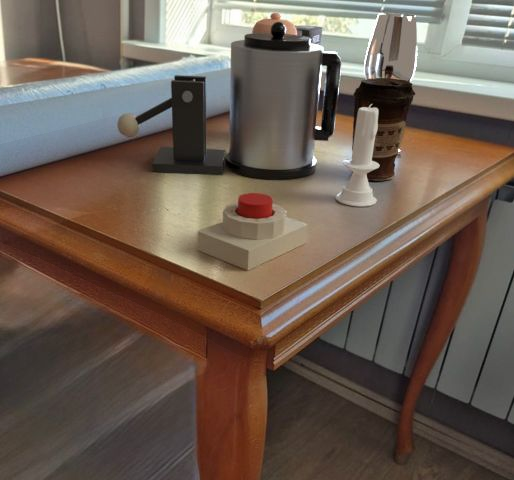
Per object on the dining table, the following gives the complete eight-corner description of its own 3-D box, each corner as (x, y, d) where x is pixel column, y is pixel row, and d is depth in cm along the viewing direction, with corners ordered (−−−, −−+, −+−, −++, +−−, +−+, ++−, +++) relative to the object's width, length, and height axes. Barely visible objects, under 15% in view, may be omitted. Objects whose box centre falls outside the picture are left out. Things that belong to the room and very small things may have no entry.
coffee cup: (410, 185, 86) (428, 87, 79) (354, 185, 85) (367, 86, 78) (389, 167, 94) (403, 75, 87) (337, 167, 92) (347, 74, 85)
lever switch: (123, 143, 87) (111, 122, 86) (127, 137, 90) (115, 117, 88) (202, 101, 84) (191, 78, 82) (204, 96, 87) (193, 74, 85)
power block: (247, 271, 61) (249, 233, 59) (197, 250, 64) (197, 214, 62) (306, 243, 67) (309, 208, 65) (258, 225, 71) (259, 192, 69)
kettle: (223, 177, 86) (225, 24, 75) (227, 151, 97) (229, 15, 87) (334, 182, 86) (352, 30, 76) (325, 155, 97) (339, 20, 87)
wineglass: (373, 142, 106) (392, 11, 95) (410, 152, 101) (434, 16, 90) (344, 149, 101) (360, 12, 90) (381, 160, 97) (403, 17, 86)
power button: (256, 223, 62) (257, 207, 61) (230, 214, 64) (230, 198, 63) (278, 214, 64) (279, 198, 63) (252, 206, 66) (253, 190, 65)
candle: (364, 192, 83) (377, 98, 76) (384, 205, 79) (399, 108, 72) (328, 195, 81) (339, 100, 75) (347, 208, 77) (360, 109, 71)
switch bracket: (152, 172, 86) (147, 82, 80) (160, 154, 94) (157, 71, 88) (222, 174, 87) (223, 86, 80) (225, 157, 94) (226, 75, 88)
